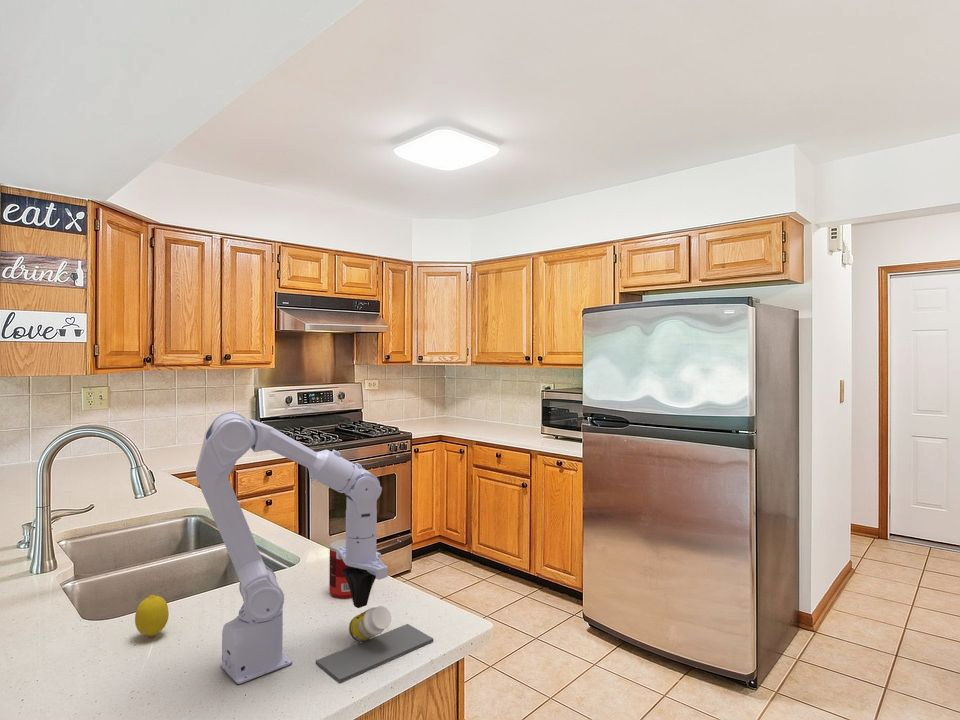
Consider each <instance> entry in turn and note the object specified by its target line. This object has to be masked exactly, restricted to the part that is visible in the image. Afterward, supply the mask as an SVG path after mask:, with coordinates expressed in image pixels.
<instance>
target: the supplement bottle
mask: <svg viewBox="0 0 960 720" xmlns="http://www.w3.org/2000/svg"><path fill="white" fill-rule="evenodd" d="M391 622H392V615H391V612H390V610H389V609H388V608H387V607H386V606H384V605H379V606H375V607H370V608H368V609H367V610H365V611H363V612H361V613H359V614H357V615H356V616H354V617H353V618H351V620H350V622H349V625H348V633H349V636H350V638H352V639H353V641H355V642H358V643H361V642H363V641H366V640H368V639H371V638H373V637H376V636H378V635H381V634H383V633H384V631H385V630H386V629H387V628H388V627H389V626H390V625H391Z"/></svg>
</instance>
